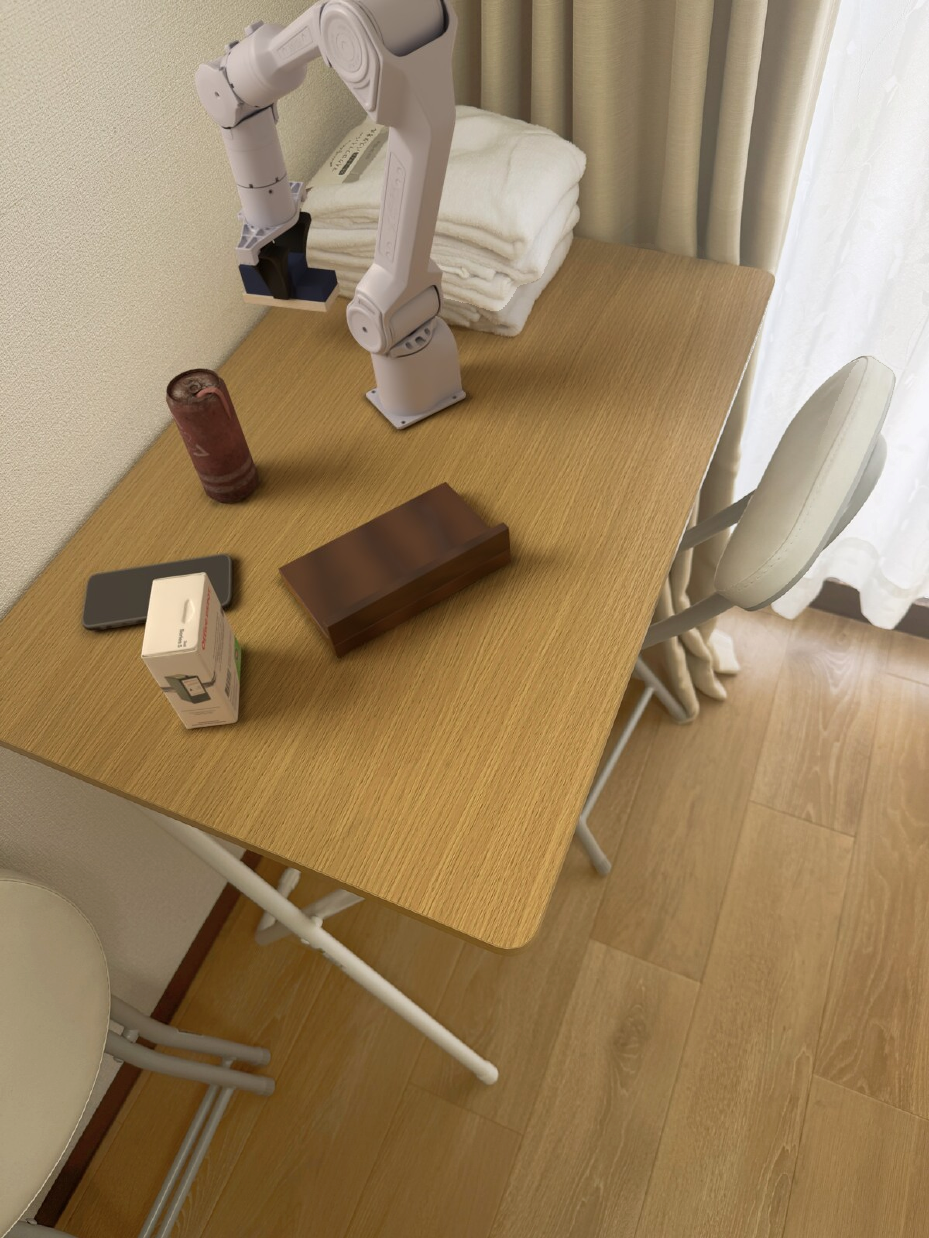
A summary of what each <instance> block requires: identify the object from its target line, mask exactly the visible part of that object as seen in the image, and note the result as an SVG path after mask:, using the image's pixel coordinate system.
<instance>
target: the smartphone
mask: <svg viewBox="0 0 929 1238" xmlns="http://www.w3.org/2000/svg"><path fill="white" fill-rule="evenodd" d="M233 562H234V561H233V558H232V557H231V555H229V554H228V553H218V554H211V555H206V556H200V557H199V556H198V557H193V558H187V559H186V558H185V559H179V560H174V561H166V562H161V563H154V564H148V565H140V566H134V567H127V568H121V569H116V570H109V571H102V572H97V573H93V574H92V575H91V576H89V577H88V579H87V582H86V587H85V594H84V601H83V609H82V615H81V625H82V627H83V629H85V630H86V631H90V632H91V631H92V632H94V631H99V630H107V629H111V628H112V629H113V628H121V627H125V626H132V625H138V624H143V623H146V622H147V616H148V609H149V603H150V596H151V590H152V584H153V580H155V579H160V578H167V577H173V576H181V575H189V574H196V573H206V574H207V576H208V578H209V580H210V583H211V585H212V587H213V589H214V591H215V593H216V595H217V598H218V600H219V602H220V604H221V606H222V608H223V611H224V610H226V609H228V608H229V607H230V606H231V605H232V602H233V592H234V591H233V587H234V585H233V583H234V582H233V581H234V580H233V578H234V563H233Z"/></svg>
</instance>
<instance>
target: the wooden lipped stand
mask: <svg viewBox="0 0 929 1238" xmlns="http://www.w3.org/2000/svg"><path fill="white" fill-rule="evenodd" d="M510 537H511V536H510V527H509V526H508V525H507V524H506V523H505V522H504V521H502V522H500V523H499V524H497V525H495V526H493V527H490V525H488V524H487V523H486V522H485V521H484V520H483V519H482V517H480V515H478V513H477V512H476V511H475V510H474V509H473V508H472V507H471V506H470V505H469V504H468V503H467V502H466V501H465V500H464V499H463V498H462V497H461V496H460V495H459V494H458V492H456V490H454V489H453V487H451V485H450V484H449V483H448V482H447V481H443V482H442V483H440V484H438V485H436V486H434V487H433V488H430V489H428V490H426V491H425V492H422V493H421V494H418V495H417V496H415V497H413V498H411V499H409V500H407V501H406V502H403V503H402V504H400V505H397V506H395V507H394V508H392V509H390V510H388V511H386V512H384V513H381V514H380V515H379V516H377V517H375V518H373V519H371V520H369V521H367V522H365V523H363V524H361V525H359V526H357V527H355V528H353V529H352V530H350V531H347V532H345V533H344V534H342V535H340V536H338V537H336V538H334V539H332V540H330V541H328V542H326V543H325V544H322V545H321V546H318V547H317V548H315V549H313V550H310V551H309V552H307V553H305V554H304V555H303V554H302V555H301V556H299V557H298V558H296V559H294V560H291V561H290V562H287V563H286V564H284V565H282V566H280V567H279V568H278V569H277V570H278V572H279V575H280V577H281V580H282V582H283V584H284V585H285V586H286V588H287V589H288V590H289V592H290V593H291V595H292V596H293V598H294V599H295V600H296V602H297V603H298V605H299V606H300V607H301V609H302V610H303V612H304V614H306V616H307V618H308V619H309V620H310V621H311V623H312V625H314V628H315V629H316V630H317V632H318V633H319V634H320V636H321V637H322V639H323V640H324V641H325V643H326V645H328V647H329V648H330V649H331V651H332V653H333V654H334V655H335V657H336V658H337V659H340V658H342V657H343V656H346V655H347V654H349V653H351V652H353V651H354V650H356V649H358V648H360V647H362V646H364V645H365V644H367V643H368V642H370V641H372V640H374V639H376V638H377V637H380V636H381V635H383V634H385V633H386V632H388V631H390V630H391V629H393V628H395V627H397V626H399V625H401V624H402V623H404V622H407V620H409V619H412V618H413V617H415V616H417V615H419V614H420V613H422V612H424V611H426V610H427V609H429V608H431V607H433V606H434V605H436V604H438V603H440V602H442V601H443V600H445V599H447V598H449V597H451V596H453V595H454V594H456V593H458V592H460V591H461V590H463V589H465V588H466V587H468V586H470V585H472V584H474V583H476V582H477V581H479V580H480V579H481V580H482V578H484V577H486V576H489V574H492V573H493V572H495V571H497V570H498V569H501V568H503V567H504V566H506V565H508V564H509V563H511V562H512V555H511V554H512V553H511V540H510Z"/></svg>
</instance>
